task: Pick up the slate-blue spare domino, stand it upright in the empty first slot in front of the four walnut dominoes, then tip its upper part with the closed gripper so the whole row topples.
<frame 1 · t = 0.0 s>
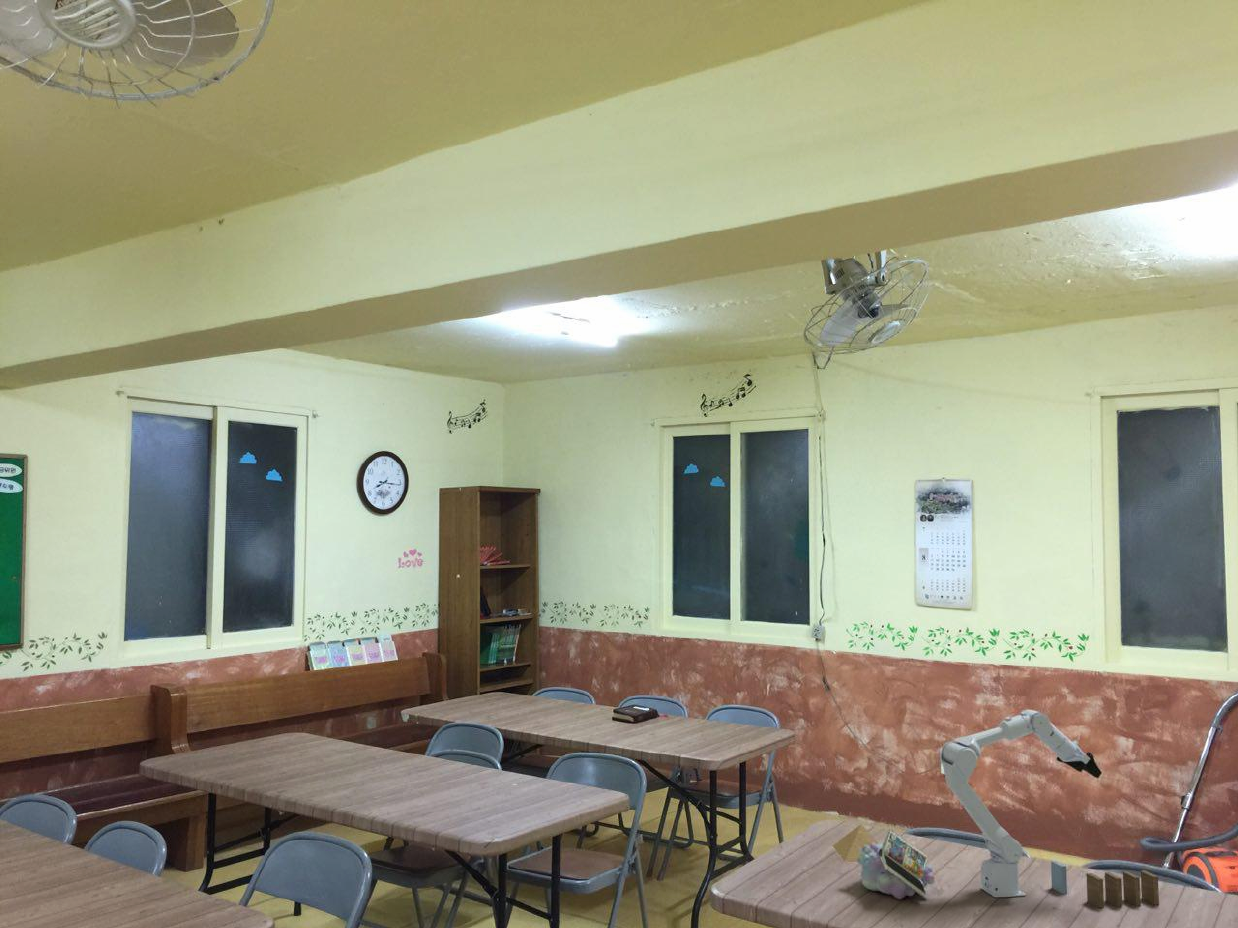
hand: (1090, 772, 277), 32 cm above the table, fingers open, 7 cm apart
domino 2: (1095, 904, 261), on the table
domino 3: (1113, 903, 262), on the table
domino 5: (1150, 901, 263), on the table
domino 4: (1132, 902, 263), on the table
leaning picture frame: (896, 891, 270), on the table
spare domino: (1059, 890, 271), on the table
model pyramid: (861, 856, 302), on the table
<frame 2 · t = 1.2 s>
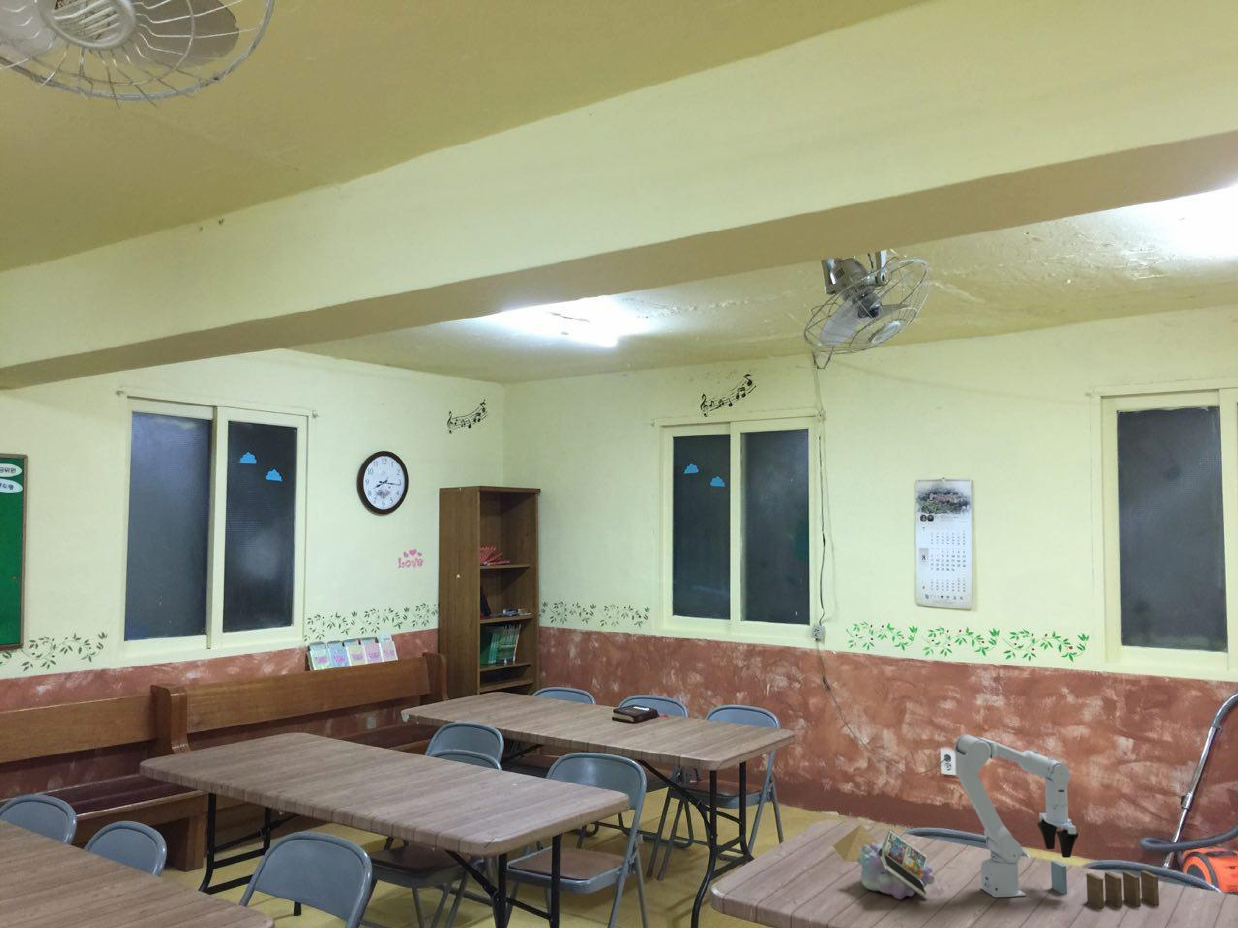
hand: (1058, 852, 272), 10 cm above the table, fingers open, 7 cm apart
nothing on the table moved.
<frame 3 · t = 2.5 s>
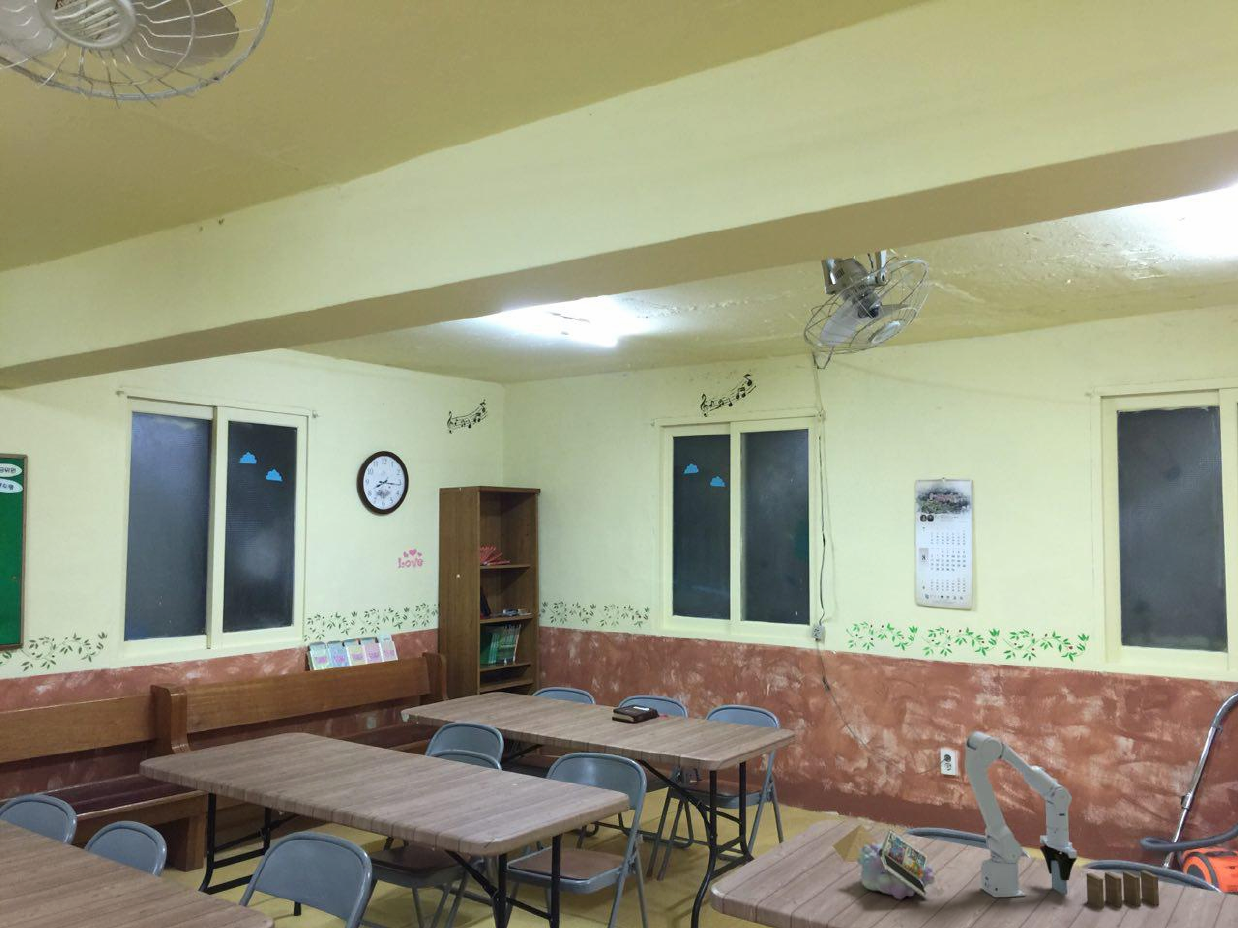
hand: (1058, 876, 272), 4 cm above the table, fingers closed on spare domino, 5 cm apart
spare domino: (1059, 890, 271), on the table, touching gripper
everything else where it was.
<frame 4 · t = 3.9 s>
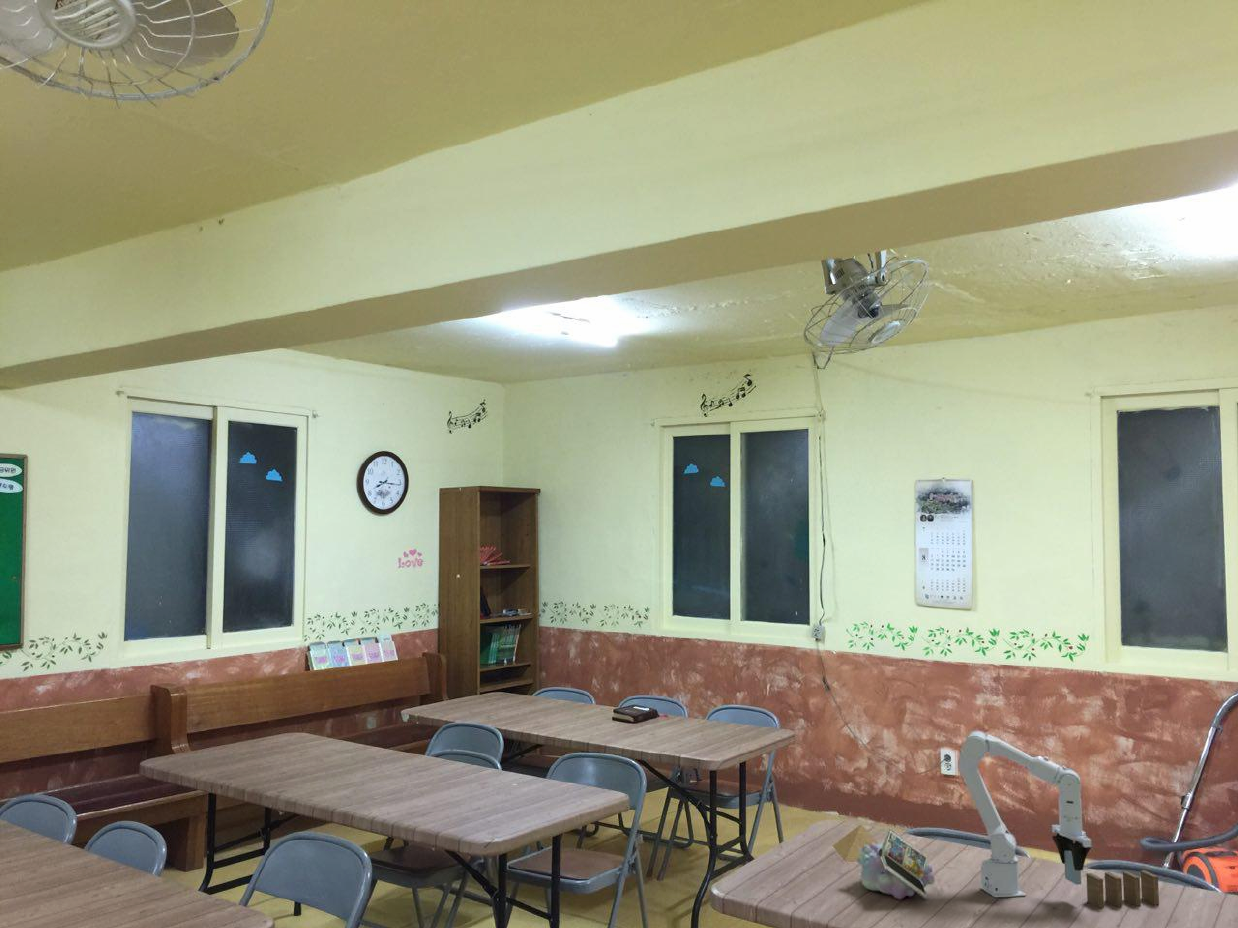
hand: (1072, 866, 263), 9 cm above the table, fingers closed on spare domino, 5 cm apart
spare domino: (1073, 881, 263), point 6 cm above the table, touching gripper
everything else where it was.
when the fingers open (5 cm above the table, at t = 5.7 s): spare domino drops 1 cm, on the table.
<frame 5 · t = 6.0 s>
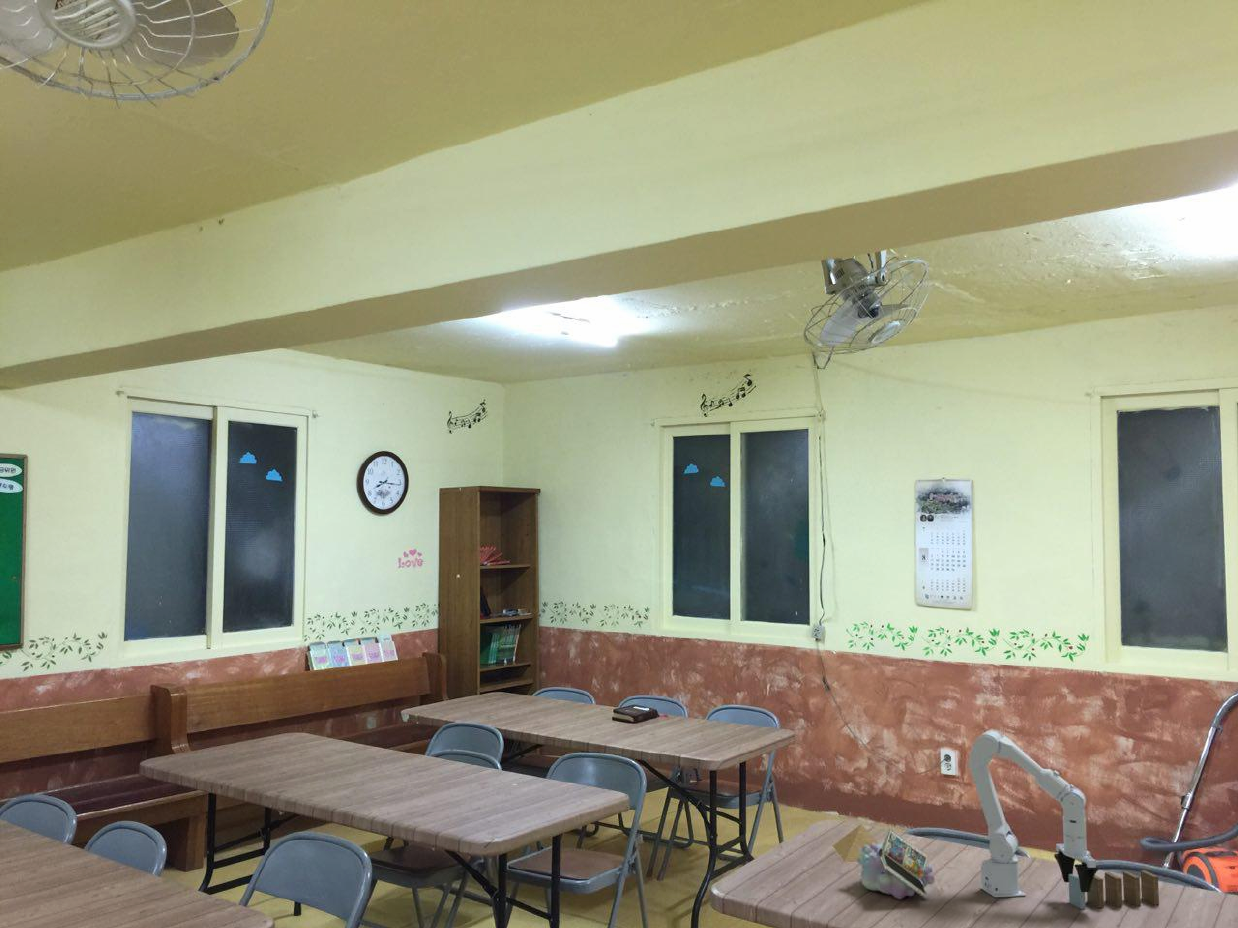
hand: (1076, 886, 261), 5 cm above the table, fingers open, 7 cm apart
spare domino: (1077, 905, 260), on the table
everything else where it was.
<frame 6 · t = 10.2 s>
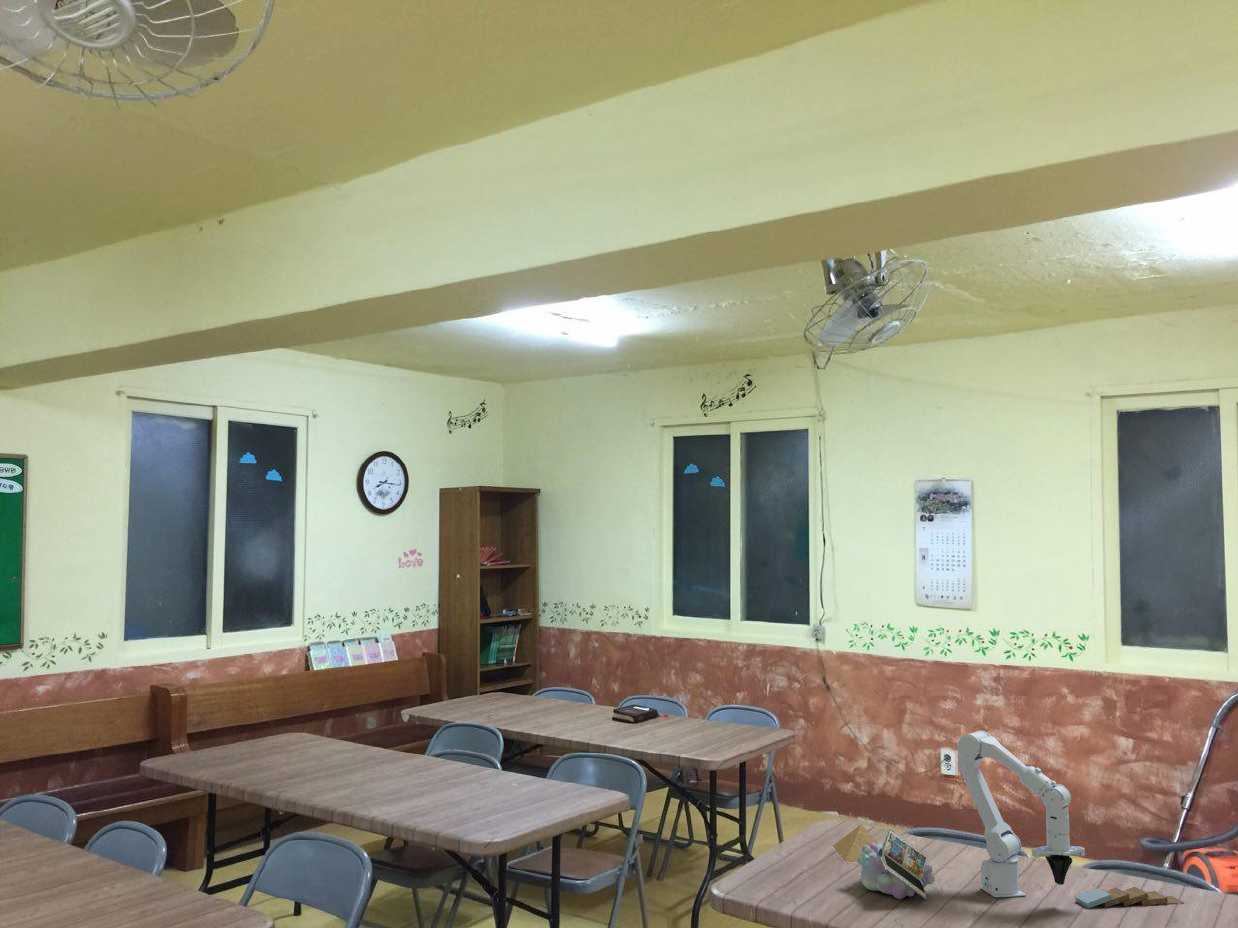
hand: (1059, 883, 260), 6 cm above the table, fingers closed
domino 2: (1099, 901, 261), point 1 cm above the table, tilted 76°, touching domino 3, spare domino
domino 3: (1118, 900, 262), point 1 cm above the table, tilted 75°, touching domino 2, domino 4
domino 5: (1153, 902, 263), on the table, tilted 90°
domino 4: (1136, 899, 263), point 1 cm above the table, tilted 86°, touching domino 3
spare domino: (1081, 902, 260), point 1 cm above the table, tilted 76°, touching domino 2
everything else where it was.
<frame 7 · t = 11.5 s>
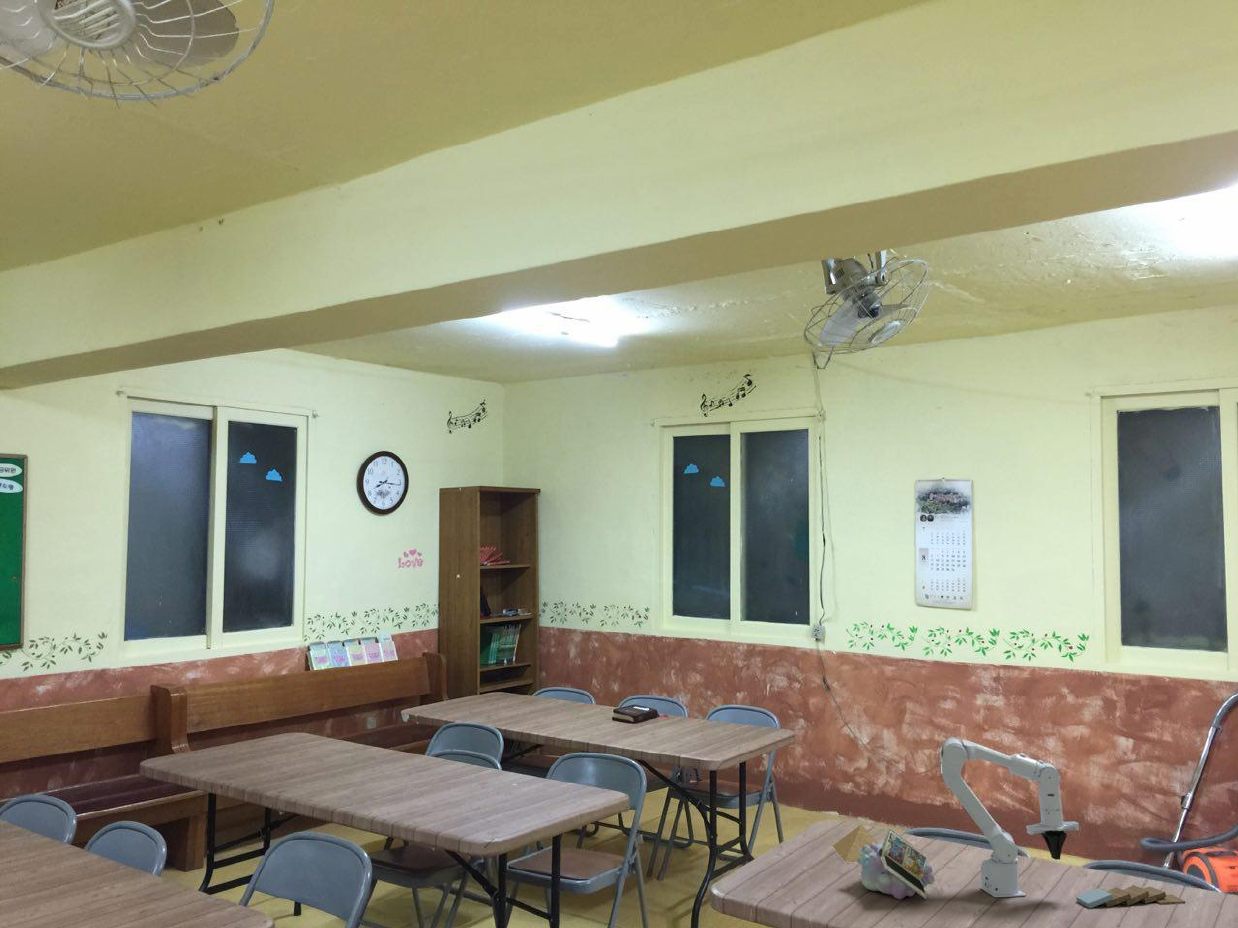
hand: (1055, 858, 267), 10 cm above the table, fingers closed
domino 5: (1154, 901, 264), on the table, tilted 90°, touching domino 4
domino 4: (1137, 897, 264), point 1 cm above the table, tilted 83°, touching domino 3, domino 5
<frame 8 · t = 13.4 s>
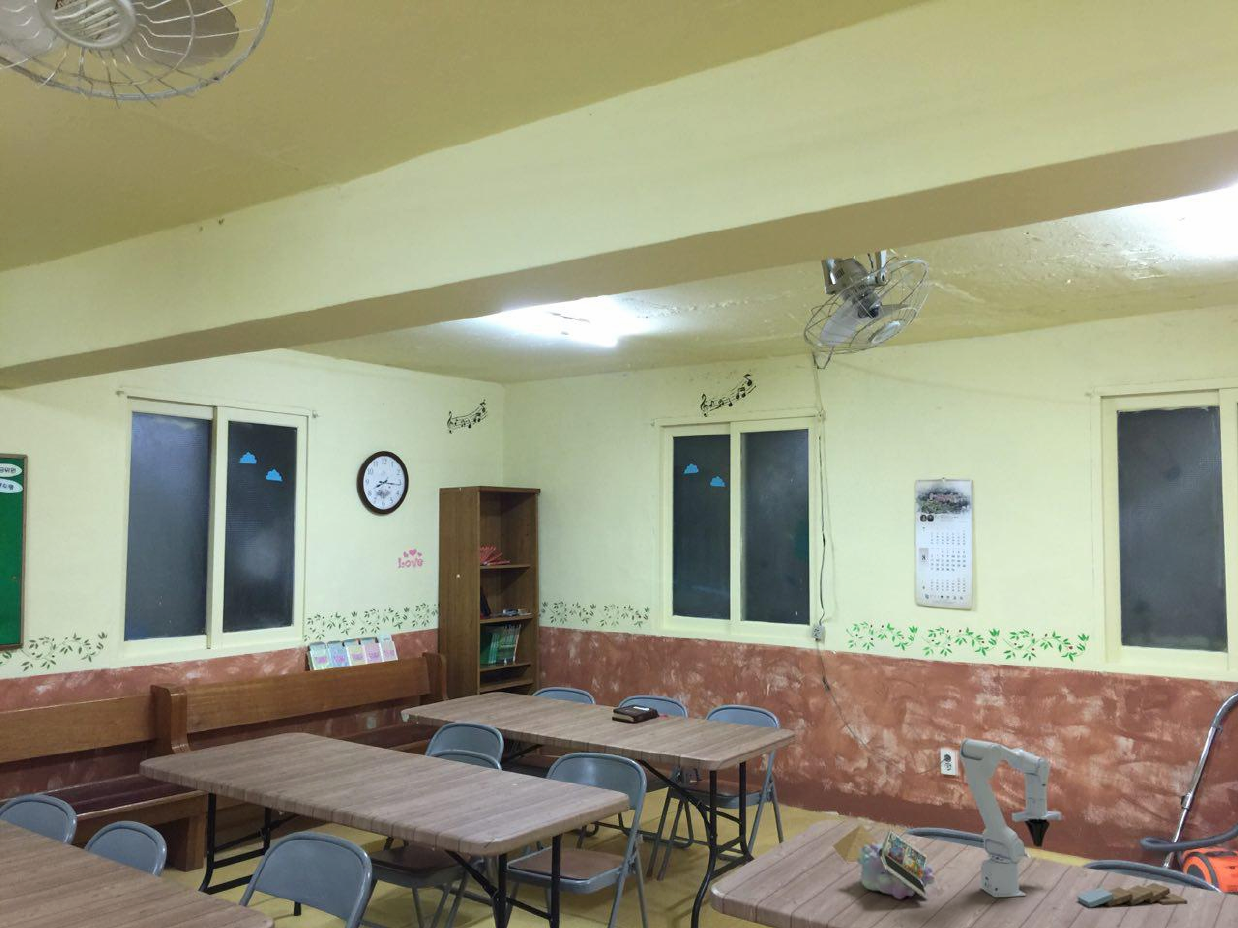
hand: (1037, 845, 279), 10 cm above the table, fingers closed
domino 3: (1124, 899, 263), point 1 cm above the table, tilted 76°, touching domino 2, domino 4
domino 4: (1142, 897, 264), point 1 cm above the table, tilted 77°, touching domino 3, domino 5
at the end: domino 5 tilted 90°; spare domino tilted 76°; spare domino inside the target area (0.5 cm from its centre), point 0.7 cm above the table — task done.
